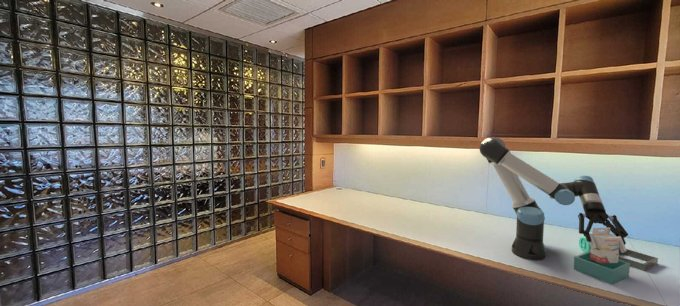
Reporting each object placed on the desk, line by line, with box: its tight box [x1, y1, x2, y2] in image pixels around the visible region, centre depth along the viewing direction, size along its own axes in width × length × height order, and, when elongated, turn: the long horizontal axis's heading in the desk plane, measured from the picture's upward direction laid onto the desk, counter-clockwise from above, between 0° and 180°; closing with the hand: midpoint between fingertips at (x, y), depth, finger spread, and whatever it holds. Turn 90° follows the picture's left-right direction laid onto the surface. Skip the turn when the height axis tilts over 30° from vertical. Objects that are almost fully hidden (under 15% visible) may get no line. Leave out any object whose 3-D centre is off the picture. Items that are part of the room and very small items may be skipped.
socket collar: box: [618, 248, 659, 272], centre depth 135 cm, size 14×14×3 cm
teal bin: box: [573, 251, 631, 285], centre depth 125 cm, size 14×14×6 cm
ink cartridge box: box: [590, 227, 620, 264], centre depth 123 cm, size 9×5×15 cm, turn 92°
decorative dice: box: [578, 235, 591, 253], centre depth 144 cm, size 8×8×8 cm
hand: (608, 250), depth 120 cm, fingers closed on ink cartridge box, 9 cm apart
